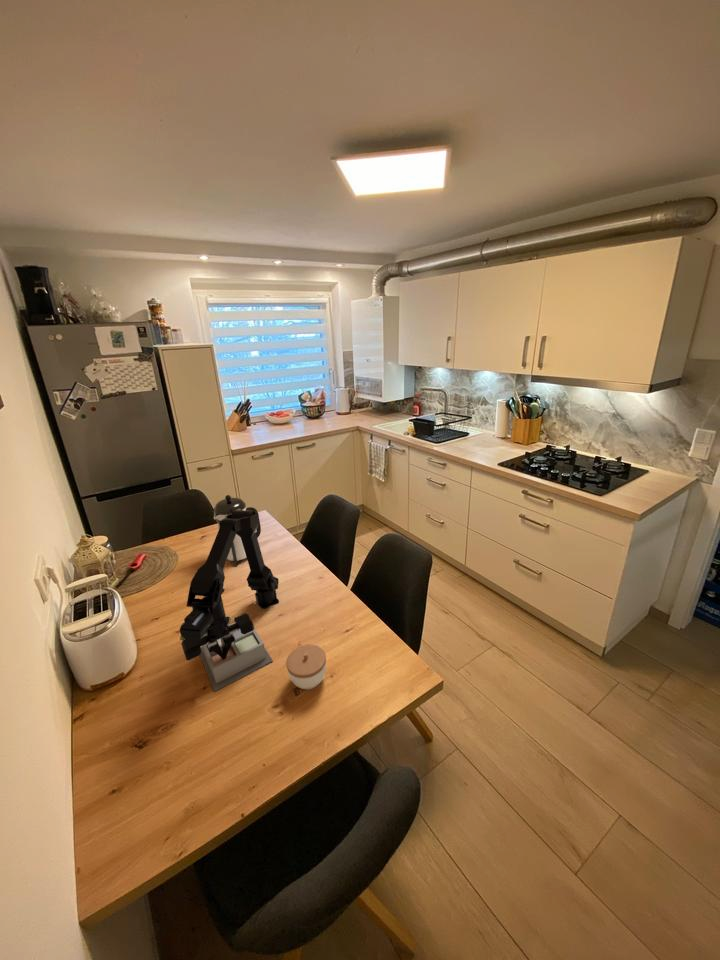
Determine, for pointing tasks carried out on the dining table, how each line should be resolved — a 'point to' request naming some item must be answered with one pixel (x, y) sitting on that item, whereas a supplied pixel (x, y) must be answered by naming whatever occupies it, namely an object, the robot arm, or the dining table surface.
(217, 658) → the key terracotta
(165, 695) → the dining table surface
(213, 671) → the keypad base
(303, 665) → the lidded jar
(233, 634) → the key slate
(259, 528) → the coffee press
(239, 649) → the key sage
